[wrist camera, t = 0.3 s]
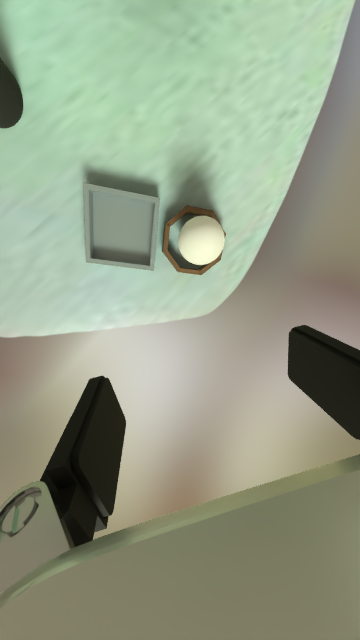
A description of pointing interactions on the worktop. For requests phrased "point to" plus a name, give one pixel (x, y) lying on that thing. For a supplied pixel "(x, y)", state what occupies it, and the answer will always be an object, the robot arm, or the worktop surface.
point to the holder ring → (186, 210)
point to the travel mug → (9, 98)
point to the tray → (120, 227)
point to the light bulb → (201, 240)
